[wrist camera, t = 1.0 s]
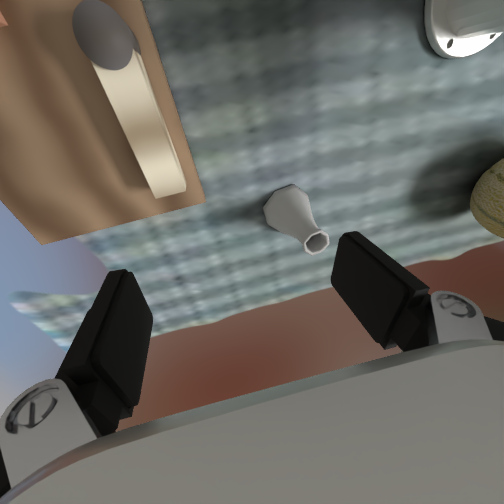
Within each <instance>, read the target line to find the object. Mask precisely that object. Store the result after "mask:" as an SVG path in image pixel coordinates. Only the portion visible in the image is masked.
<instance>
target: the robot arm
mask: <svg viewBox="0 0 504 504" xmlns="http://www.w3.org/2000/svg"><path fill="white" fill-rule="evenodd" d="M424 12H425V29H426V34H427V38H428V40H429V43H430V45H431V47H432V48H433V50H434V51H435V52H436V53H437V54H439V55H440V56H442V57H444V58H449V59H454V58H462V57H466V56H470V55H472V54H475V53H477V52H479V51H481V50H482V49H483V48H485V47H486V46H488V45H489V44H490V43H491V42H493V41H494V40H495V39H496V38H497V37H498V36H499V35H500V34H501V33H502V32H504V0H426V1H425V10H424ZM331 284H332V286H333V287H334V288H335V290H336V291H337V292H338V293H339V295H340V296H341V297H342V299H343V300H344V301H345V303H346V304H347V305H348V307H349V308H350V309H351V310H352V312H353V313H354V315H355V316H356V317H357V318H358V320H359V321H360V322H361V324H362V325H363V326H364V328H365V329H366V330H367V332H368V333H369V334H370V335H371V337H372V338H373V339H374V340H375V342H377V343H380V345H381V346H382V347H383V348H384V349H385V350H386V349H389V348H393V347H396V346H397V345H398V346H399V348H400V349H401V353H399V354H395V355H391V356H387V357H384V358H380V359H376V360H372V361H369V362H365V363H361V364H358V365H354V366H350V367H346V368H342V369H338V370H335V371H331V372H327V373H324V374H320V375H316V376H312V377H309V378H305V379H301V380H297V381H294V382H290V383H287V384H283V385H279V386H275V387H272V388H268V389H264V390H261V391H257V392H253V393H250V394H246V395H242V396H239V397H235V398H231V399H228V400H224V401H220V402H217V403H213V404H210V405H206V406H202V407H199V408H195V409H192V410H188V411H184V412H181V413H177V414H174V415H171V416H167V417H164V418H160V419H157V420H153V421H150V422H147V423H144V424H140V425H136V426H133V427H130V428H127V429H124V430H121V431H118V432H116V431H115V430H116V429H117V428H118V424H119V420H120V419H124V418H128V417H132V412H133V408H134V406H136V405H138V403H139V399H140V394H141V387H142V382H143V376H144V371H145V365H146V358H147V353H148V348H149V341H150V336H151V331H152V325H153V316H152V313H151V311H150V309H149V307H148V304H147V302H146V300H145V298H144V296H143V294H142V292H141V289H140V287H139V285H138V283H137V281H136V279H135V277H134V274H133V273H132V272H128V271H127V270H126V269H122V270H116V271H110V272H109V273H108V274H107V276H106V279H105V280H104V283H103V284H102V287H101V289H100V291H99V293H98V295H97V297H96V299H95V301H94V303H93V305H92V307H91V309H89V311H88V312H87V314H86V316H85V318H84V320H83V322H82V324H81V326H80V328H79V330H78V332H77V334H76V336H75V338H74V340H73V342H72V344H71V346H70V348H69V350H68V352H67V354H66V356H65V358H64V360H63V362H62V364H61V366H60V368H59V370H58V373H57V375H56V377H55V378H54V379H48V380H45V381H42V382H39V383H37V384H35V385H33V386H32V387H30V388H28V389H27V390H25V391H24V392H23V393H22V394H20V395H19V396H18V397H17V398H16V399H15V400H14V401H13V402H12V403H11V404H10V405H9V406H8V407H7V409H6V410H5V412H4V413H3V415H2V416H1V418H0V504H504V322H501V321H498V320H494V319H491V318H488V317H485V316H483V314H482V312H481V310H480V309H479V307H478V306H477V305H476V304H474V303H473V302H472V301H471V300H469V299H467V298H466V297H464V296H461V295H459V294H456V293H453V292H448V291H437V292H434V293H433V294H432V295H429V294H428V293H427V292H428V290H429V289H430V288H429V287H428V286H427V285H425V284H424V283H423V282H422V281H420V280H419V279H417V277H415V276H414V275H413V274H411V273H410V272H409V271H408V270H406V269H405V268H404V267H403V266H401V265H400V264H399V263H397V262H396V261H395V260H394V259H392V258H391V257H390V256H389V255H387V254H386V253H385V252H383V251H382V250H381V249H380V248H378V247H377V246H376V245H374V244H373V243H372V242H371V241H369V240H368V239H367V238H366V237H364V236H363V235H362V234H360V233H359V232H357V231H353V232H347V233H344V234H343V235H342V237H340V239H339V243H338V248H337V252H336V257H335V262H334V266H333V271H332V275H331Z"/></svg>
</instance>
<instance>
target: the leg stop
mask: <svg viewBox="0 0 504 504" xmlns="http://www.w3.org/2000/svg"><path fill="white" fill-rule="evenodd" d="M4 26H9V25H8V24H7V22H6V20H5V19H4V17H3V15H2V14H1V12H0V27H4Z"/></svg>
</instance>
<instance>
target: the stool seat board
mask: <svg viewBox="0 0 504 504" xmlns="http://www.w3.org/2000/svg"><path fill="white" fill-rule="evenodd" d="M82 1H84V0H0V12H1V14H2V15H3V17H4V19H5V20H6V22H7V24H8V25H9V26H4V27H0V200H1V201H2V202H3V204H4V205H5V206H6V207H7V208H8V209H9V210H10V211H11V212H12V213H13V214H14V216H15V217H16V218H17V219H18V220H19V221H20V222H21V223H22V224H23V225H24V226H25V227H26V228H27V230H28V231H29V232H30V233H31V234H32V235H33V236H34V237H35V238H36V239H37V241H38V242H39V243H40V244H41V245H43V244H48V243H52V242H55V241H59V240H63V239H67V238H70V237H74V236H78V235H82V234H86V233H90V232H94V231H97V230H101V229H105V228H109V227H113V226H116V225H120V224H124V223H128V222H132V221H136V220H139V219H143V218H147V217H151V216H155V215H158V214H162V213H166V212H170V211H174V210H178V209H181V208H185V207H189V206H193V205H197V204H200V203H204V202H206V200H205V195H204V192H203V189H202V186H201V182H200V179H199V176H198V173H197V170H196V167H195V164H194V161H193V158H192V155H191V152H190V148H189V145H188V142H187V139H186V136H185V133H184V130H183V127H182V124H181V121H180V118H179V114H178V111H177V108H176V105H175V102H174V99H173V96H172V93H171V90H170V87H169V84H168V80H167V77H166V74H165V71H164V68H163V65H162V62H161V59H160V56H159V53H158V50H157V46H156V43H155V40H154V37H153V34H152V31H151V28H150V25H149V22H148V19H147V16H146V12H145V9H144V6H143V3H142V0H99V1H101V2H104V3H105V4H107V5H109V6H110V7H111V8H113V9H114V10H115V11H116V12H117V13H118V14H119V16H120V17H121V18H122V19H123V20H124V22H125V23H126V24H127V25H128V26H129V27H130V29H131V30H132V31H133V33H134V34H135V36H136V38H137V40H138V43H139V46H140V51H141V58H142V61H143V63H144V66H145V69H146V72H147V74H148V77H149V80H150V83H151V85H152V88H153V91H154V94H155V97H156V99H157V102H158V105H159V108H160V110H161V113H162V116H163V119H164V121H165V124H166V127H167V130H168V132H169V135H170V138H171V141H172V143H173V146H174V149H175V152H176V155H177V157H178V160H179V163H180V166H181V168H182V171H183V174H184V177H185V179H186V191H184V192H180V193H177V194H173V195H169V196H165V197H161V198H157V199H155V197H154V194H153V192H152V190H151V188H150V186H149V184H148V182H147V180H146V177H145V175H144V173H143V171H142V169H141V167H140V165H139V162H138V160H137V158H136V156H135V154H134V152H133V150H132V148H131V145H130V143H129V141H128V139H127V137H126V135H125V133H124V130H123V128H122V126H121V124H120V122H119V120H118V118H117V116H116V113H115V111H114V109H113V107H112V105H111V103H110V101H109V98H108V96H107V94H106V92H105V90H104V88H103V86H102V84H101V81H100V79H99V77H98V75H97V73H96V71H95V69H94V66H93V64H92V62H91V60H90V59H89V58H88V57H87V56H86V55H85V54H84V52H83V51H82V49H81V48H80V46H79V45H78V43H77V40H76V38H75V35H74V32H73V26H72V17H73V13H74V10H75V8H76V6H77V5H78V4H79V3H80V2H82Z"/></svg>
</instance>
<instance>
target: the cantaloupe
mask: <svg viewBox="0 0 504 504" xmlns="http://www.w3.org/2000/svg"><path fill="white" fill-rule="evenodd" d="M470 208H471V211H472V213H473V216H474V217H475V219H476V220H477V221H478V222H479V224H481V225H482V226H483V227H484V228H485V229H487V230H488V231H489V232H491V233H493V234H495V235H497V236H499V237H501V238H504V158H503V159H501V160H500V161H499V162H497V163H496V164H494V165H493V166H492V167H491V168H490V169H488V170H487V171H486V172H485V173H484V174H483V175H482V176H481V177H480V179H479V180H478V182H477V183H476V185H475V187H474V189H473V191H472V195H471V199H470Z"/></svg>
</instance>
